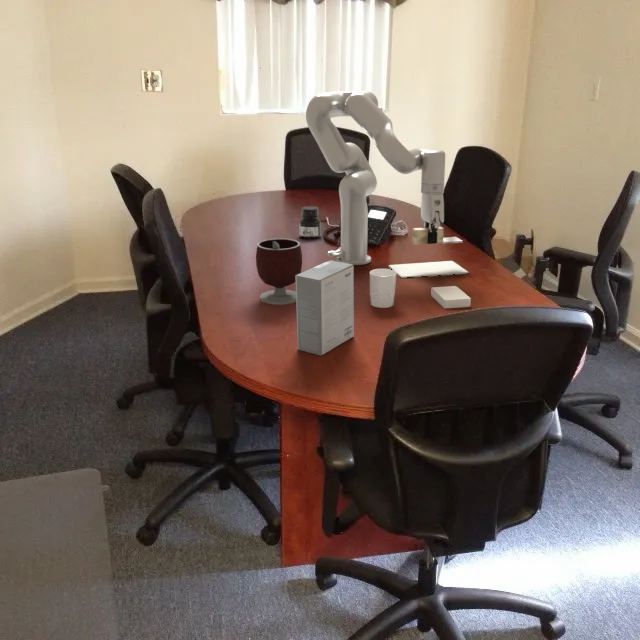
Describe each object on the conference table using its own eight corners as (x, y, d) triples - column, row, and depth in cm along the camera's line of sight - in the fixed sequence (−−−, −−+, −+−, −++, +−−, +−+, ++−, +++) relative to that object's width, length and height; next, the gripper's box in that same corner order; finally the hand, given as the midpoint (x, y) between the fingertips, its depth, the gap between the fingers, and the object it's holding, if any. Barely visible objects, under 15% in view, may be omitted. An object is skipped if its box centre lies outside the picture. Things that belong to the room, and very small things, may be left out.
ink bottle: (295, 238, 276) (294, 209, 272) (303, 233, 284) (303, 205, 279) (317, 240, 273) (316, 211, 268) (325, 235, 280) (325, 206, 276)
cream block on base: (416, 245, 226) (417, 231, 224) (410, 241, 231) (411, 227, 229) (462, 242, 229) (463, 228, 227) (455, 238, 234) (456, 224, 233)
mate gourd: (262, 290, 214) (259, 228, 206) (305, 291, 212) (304, 229, 205) (252, 306, 199) (249, 240, 192) (298, 308, 198) (297, 242, 191)
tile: (430, 296, 208) (444, 309, 197) (431, 287, 207) (445, 300, 196) (455, 295, 210) (470, 308, 199) (455, 285, 209) (470, 298, 198)
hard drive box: (330, 330, 181) (330, 259, 174) (354, 336, 177) (355, 264, 170) (296, 349, 169) (294, 274, 162) (321, 356, 165) (320, 279, 158)
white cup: (367, 300, 204) (367, 268, 200) (392, 299, 205) (393, 268, 201) (371, 309, 197) (371, 276, 193) (397, 308, 197) (398, 275, 194)
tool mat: (401, 278, 224) (401, 276, 224) (388, 266, 237) (388, 265, 237) (468, 273, 229) (468, 271, 229) (452, 262, 242) (452, 260, 242)
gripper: (452, 191, 216) (449, 247, 223) (433, 183, 231) (431, 236, 238) (430, 192, 215) (428, 248, 221) (413, 184, 230) (411, 237, 236)
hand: (430, 241), depth 229 cm, fingers closed on cream block on base, 3 cm apart
